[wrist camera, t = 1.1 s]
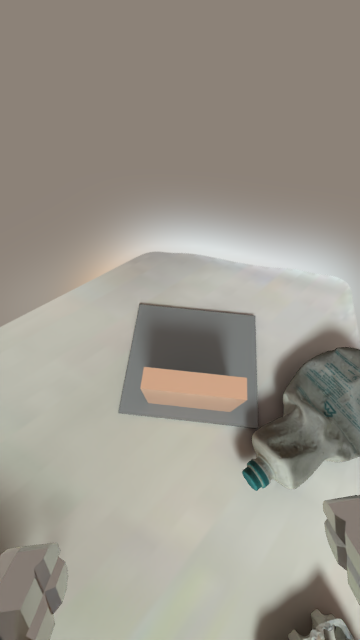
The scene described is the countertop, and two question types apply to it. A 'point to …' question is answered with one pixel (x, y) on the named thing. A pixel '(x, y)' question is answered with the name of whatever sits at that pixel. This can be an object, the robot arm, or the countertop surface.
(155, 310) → the mat
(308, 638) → the egg carton
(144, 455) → the countertop surface
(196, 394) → the tile
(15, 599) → the robot arm
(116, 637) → the countertop surface
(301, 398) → the detergent
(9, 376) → the countertop surface
